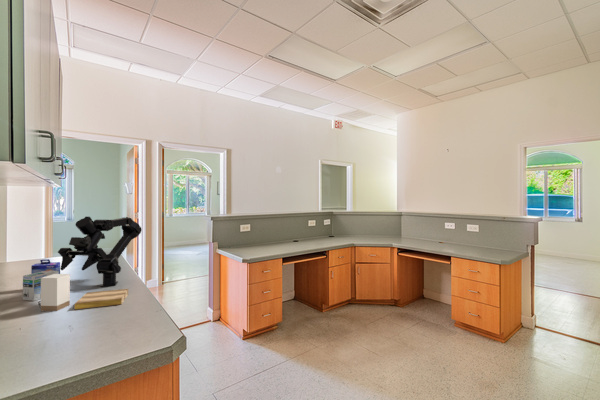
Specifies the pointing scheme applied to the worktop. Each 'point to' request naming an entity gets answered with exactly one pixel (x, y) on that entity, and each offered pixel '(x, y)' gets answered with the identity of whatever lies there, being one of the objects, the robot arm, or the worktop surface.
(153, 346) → the worktop surface
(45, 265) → the ink cartridge box
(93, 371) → the worktop surface
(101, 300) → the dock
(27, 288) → the light bulb box
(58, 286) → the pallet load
